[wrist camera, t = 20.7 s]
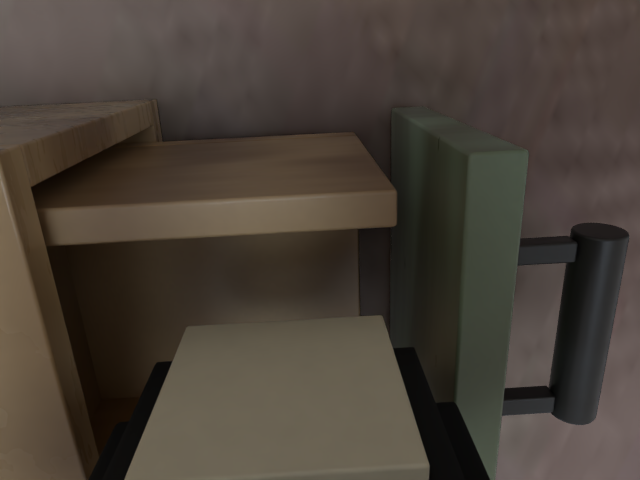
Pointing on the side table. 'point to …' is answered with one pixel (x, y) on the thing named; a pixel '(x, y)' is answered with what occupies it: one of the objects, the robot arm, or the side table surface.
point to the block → (283, 406)
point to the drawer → (323, 259)
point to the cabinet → (47, 285)
